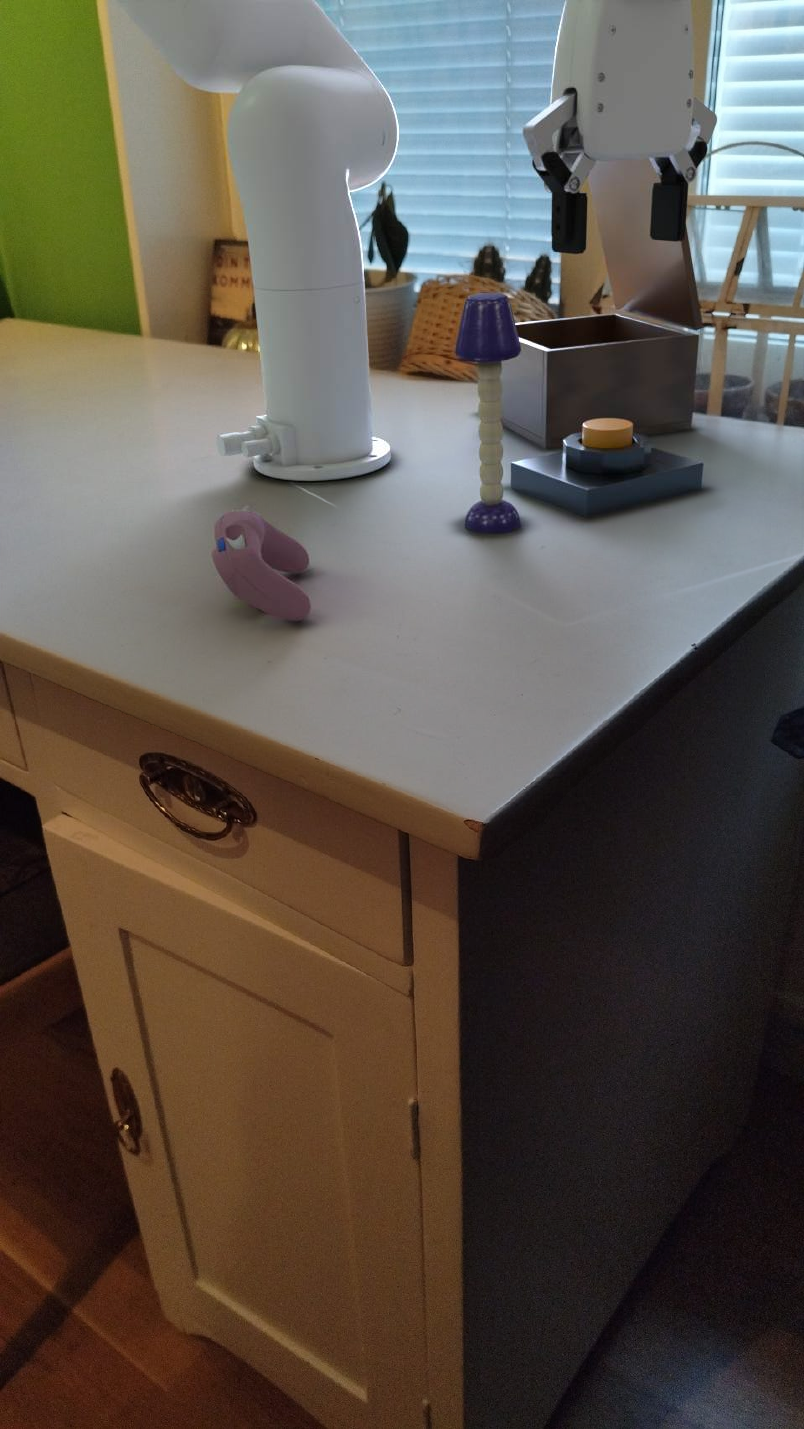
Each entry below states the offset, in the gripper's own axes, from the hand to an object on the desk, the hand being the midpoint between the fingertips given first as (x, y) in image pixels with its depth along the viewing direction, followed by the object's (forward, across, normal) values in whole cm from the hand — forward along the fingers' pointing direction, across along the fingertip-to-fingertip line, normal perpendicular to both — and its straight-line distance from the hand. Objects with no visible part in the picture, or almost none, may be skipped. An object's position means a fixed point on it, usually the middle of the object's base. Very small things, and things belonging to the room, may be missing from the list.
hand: (618, 246), depth 83 cm
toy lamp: (+19, +14, +2) cm, 23 cm away
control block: (+18, 0, 0) cm, 19 cm away
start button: (+15, 0, 0) cm, 15 cm away
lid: (+2, -18, -17) cm, 25 cm away
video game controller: (+19, +34, +5) cm, 39 cm away
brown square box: (+18, -13, -19) cm, 29 cm away
